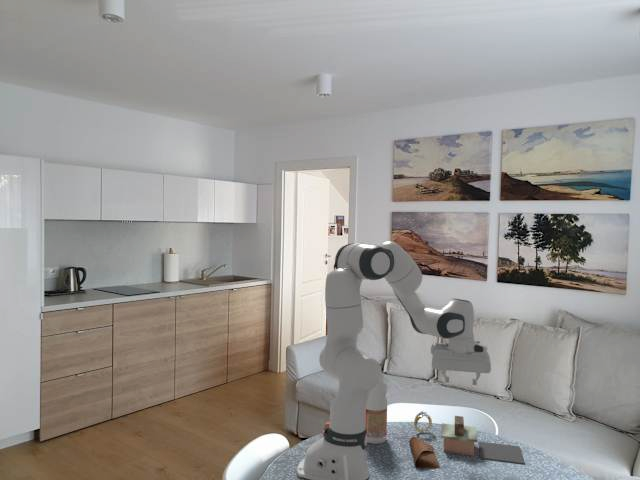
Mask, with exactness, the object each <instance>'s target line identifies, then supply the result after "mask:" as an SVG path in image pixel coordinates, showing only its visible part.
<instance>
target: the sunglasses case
mask: <svg viewBox="0 0 640 480" xmlns="http://www.w3.org/2000/svg"><path fill="white" fill-rule="evenodd" d="M408 444H409V447H410V450H411V454H412V457H413V462H414V465H415V467H416V468H418V469H420V468H421V469H441V467H440V463H439V460H438V458H437V456H436V453H435V449H434V446H433V445H431V444H429V443H427V442H424V441H422V440H421V439H420V438H418V437H416V436H412V437H411V438H410V439H409V441H408Z"/></svg>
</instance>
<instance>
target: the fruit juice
mask: <svg viewBox="0 0 640 480" xmlns="http://www.w3.org/2000/svg"><path fill="white" fill-rule="evenodd" d="M378 363H379V364H380V366H381V369H382V368H383V363H382V362H381V361H378ZM387 391H388V383H387V382H386V380H385V379H384V377H383V373H381V379H380V381H379V383H378V384H377V385H376V386H375V387H374V388H373V389H372V390H371V391H370V394H369V397H368V400H367V405H366V422H365V427H366V429H367V444H372V445H377V444H378V445H380V444H383V443H385V442H386V440H387V435H388V434H387V432H388V431H387V427H388V425H387V424H388V399H387V396H386V395H387Z"/></svg>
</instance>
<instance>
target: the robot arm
mask: <svg viewBox="0 0 640 480" xmlns="http://www.w3.org/2000/svg"><path fill="white" fill-rule="evenodd" d="M334 258H335V259H334V264H333V270H331V271H330V272H329V273H328V274H327V275H326V278H325V289H324V299H325V301H324V302H325V313H326V326H327V331H326V333H327V334H326V340H325V346H324V347H323V349H322V350H321V351H320V354H319V361H318V362H319V365H320V367H321V368H322V369H323V371H324V372H325V373H326V374H327V375H328V376H329V377H331V378H333V379H334V380H337V381H338V383H339V385H338V391H337V393H336V394H337V395H336V396H335V397H333V398H332V399H331V401H330V405H329V407H330V408H329V409H330V412H329V413H330V414H329V421H327V422H326V423H325V425H324V428H323V431H322V436H323V437H322V438H320V439H318V440H317V441H315V442H313V443H312V444H311V445H310V446H309V448H308V449H307V450H306V451H307V452H306V453H305V456H304V458H303V459H301V460H300V462H299V463H298V465H297V468H296V474H297V476H298V477H299V478H302V479H303V478H304V479H306V480H367V479H369V477H370V469H369V466H368V458H367V450H366V449H367V444H368V443H367V429H366V427H365V422H366V405H367V400H368V397H369V394H370V391H371V390H372V389H373V388H374V387H375V386H376V385H377V384H378V383H379V381H380V379H381V373H382V372H383V371H382V368H381V366H380V364H379V363H378V362H379V361H378V360H377V359H376V358H374V356H372V355H370V354H369V353H368V352H365V351H362V350H359V349H358V347H357V342H358V335H359V334H360V333H361V332H362V330H363V328H364V319H363V318H364V317H363V308H362V307H363V306H362V300H361V299H362V298H361V297H362V296H361V292H360V291H361V285H362V282H363V280H369V281H377V280H378V281H379V280H381V279H383V278H384V279H385V281H386V282H387V284H388V285H390V287H391V288H392V290H393V293H394V295H395V296H396V298H397V299H398V302H400V304H401V305H402V307H403V308H404V311H405V312H406V313H407V315H408V317H409V320H410V323H411V325H412V328H413V330H414V331H416V332H417V333H418V334H421V335H422V334H423V335H429V336H432V337H436V338H440V339H447V343H445V342H443V343H441V342H440V343H439V342H434V343H433V344H432V345H431V347H430V353H431V355H432V357H431V368H432V369H433V370H438V371H441V374H442V376H443V378H444V383H446V384H447V383H448V384H450V376H447V374H446V372H447V371H452V372H465V373H466V372H467V373H475V375H476V376H475V377H474V378H472V385H473V386H478V380H479V379H480V377H481V374H490V373H491V371H492V366H491V364H492V363H491V357H490V355H489V352H488V345H487V344H486V343H485V342H482V341H479V340H477V339H475V335H474V326H475V310H474V306H473V303H472V302H471V301H470V300H467V299H460V298H454V297H453V298H451V299H449V303H448V304H446V305H445V306H443V307H442V308H435V307H431V306H428V305H426V304H424V303H423V302H422V301H421V299H420V298H419V296H418V295H417V293H416V291H417V290H418V289H419V288H420V286H421V284H422V281H423V273H422V271H421V269H420V268H419V266H418V264H417V263H416V261H415V260H414V259H413V258H412V257H411V256H410V255H409V253H408V251H406V250H405V249H404V248H402V247H401V245H399V244H398V243H397V242H396V241H392V240H391V241H390V240H388V241H384V242H382V243H381V244H379V245H377V244H367V243H364V242H363V243H361V242H360V243H348V244H345V245H343V246H341V247H340V248H339V249H338V250H337V252H336V255H335V257H334ZM382 374H383V373H382Z"/></svg>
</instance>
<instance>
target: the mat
mask: <svg viewBox="0 0 640 480" xmlns="http://www.w3.org/2000/svg"><path fill="white" fill-rule="evenodd" d="M477 443H478V452H479V456H480V457H479V458H480V460H489V461H495V462H503V463H511V464H519V465H526V462H525V459H524V455H523V453H522V450H521V447H520V446H519V445H511V444H503V443H494V442H488V441H487V442H485V441H478V442H477Z"/></svg>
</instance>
